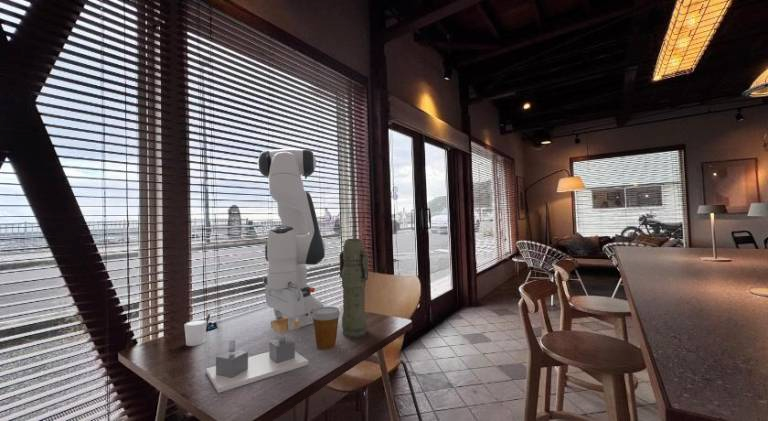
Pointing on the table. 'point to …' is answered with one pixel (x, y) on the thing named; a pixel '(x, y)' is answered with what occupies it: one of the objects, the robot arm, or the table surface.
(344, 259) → the thermos
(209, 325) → the bird
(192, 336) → the white cup
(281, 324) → the ring
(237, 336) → the table surface
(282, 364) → the jig plate
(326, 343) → the disposable coffee cup
